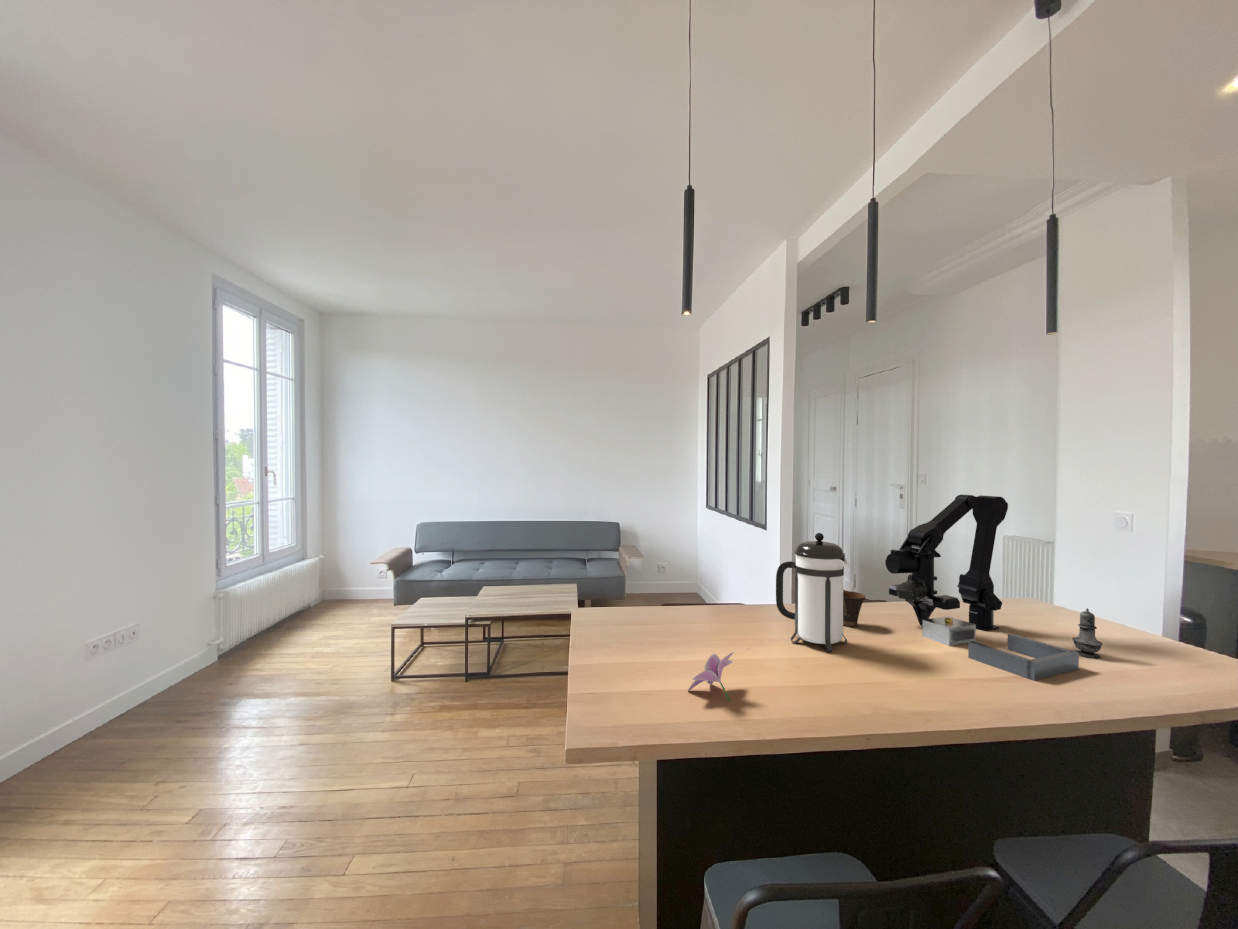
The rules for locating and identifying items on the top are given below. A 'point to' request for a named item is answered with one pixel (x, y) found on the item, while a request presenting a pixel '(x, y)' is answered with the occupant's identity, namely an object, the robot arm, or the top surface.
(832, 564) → the coffee press
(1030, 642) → the frame
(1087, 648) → the salt shaker
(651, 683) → the top surface
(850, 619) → the cup
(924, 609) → the robot arm
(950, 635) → the drawer
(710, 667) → the lily
